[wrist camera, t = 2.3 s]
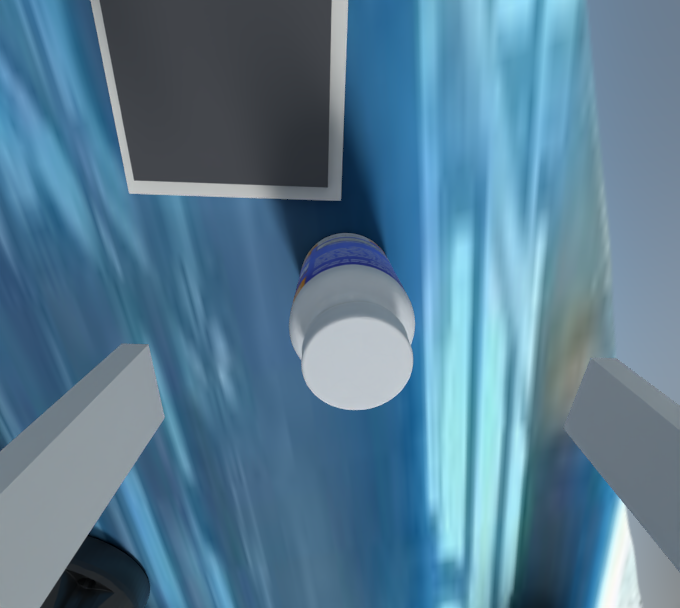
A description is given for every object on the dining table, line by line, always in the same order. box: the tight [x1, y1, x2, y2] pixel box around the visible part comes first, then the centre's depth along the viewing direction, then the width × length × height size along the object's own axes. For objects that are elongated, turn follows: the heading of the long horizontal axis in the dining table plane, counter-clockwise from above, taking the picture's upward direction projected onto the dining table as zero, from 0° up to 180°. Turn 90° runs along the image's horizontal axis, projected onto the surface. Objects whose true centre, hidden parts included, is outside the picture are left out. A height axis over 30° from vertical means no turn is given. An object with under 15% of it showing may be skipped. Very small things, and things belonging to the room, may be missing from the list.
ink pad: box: [91, 0, 348, 201], centre depth 16 cm, size 11×11×2 cm
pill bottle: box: [289, 233, 415, 410], centre depth 16 cm, size 5×5×10 cm
